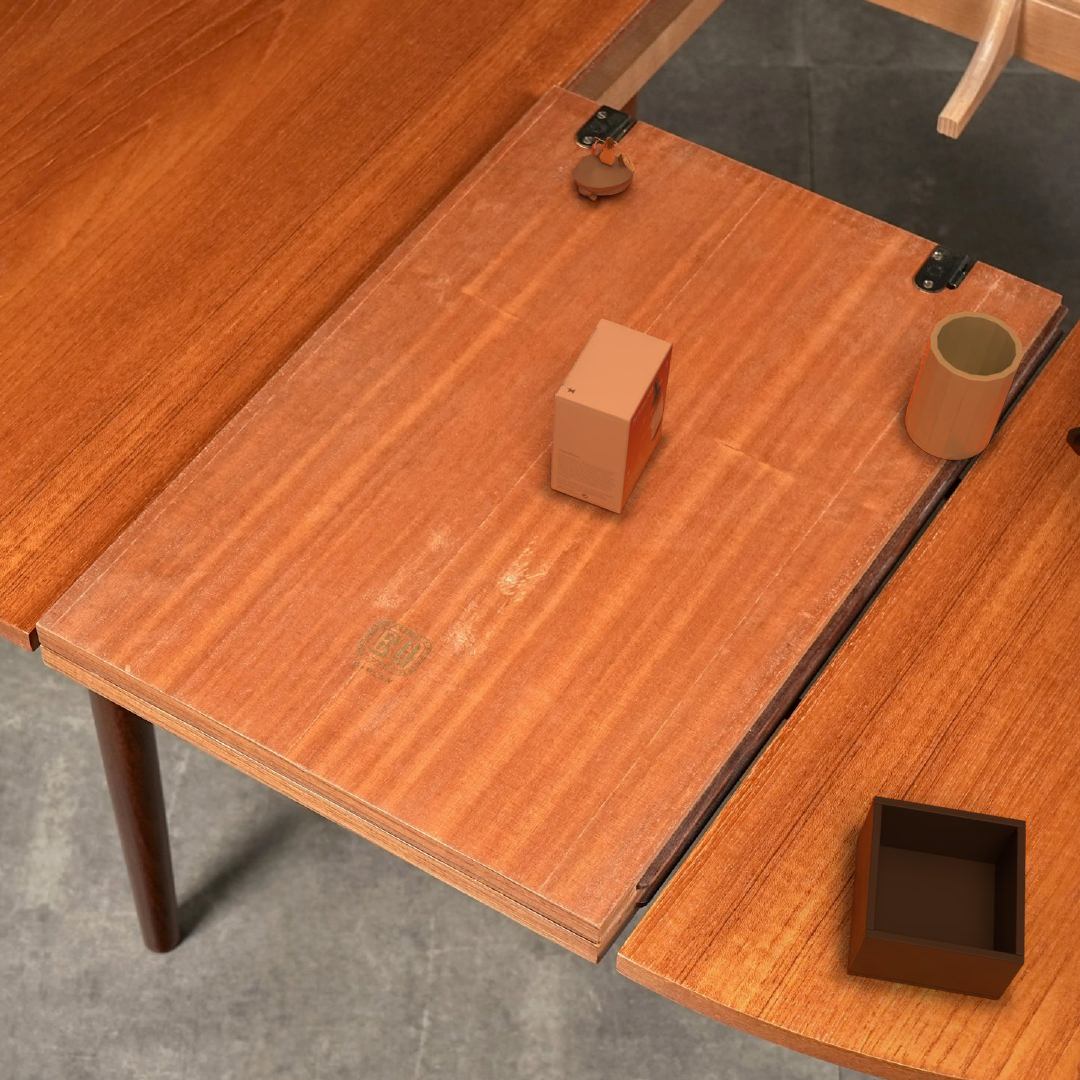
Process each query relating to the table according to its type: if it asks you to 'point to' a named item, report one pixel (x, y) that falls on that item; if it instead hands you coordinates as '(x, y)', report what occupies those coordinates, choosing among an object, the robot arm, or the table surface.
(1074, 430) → the robot arm
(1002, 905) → the basket
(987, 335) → the tumbler
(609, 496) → the small box
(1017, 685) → the table surface
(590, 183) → the figurine
